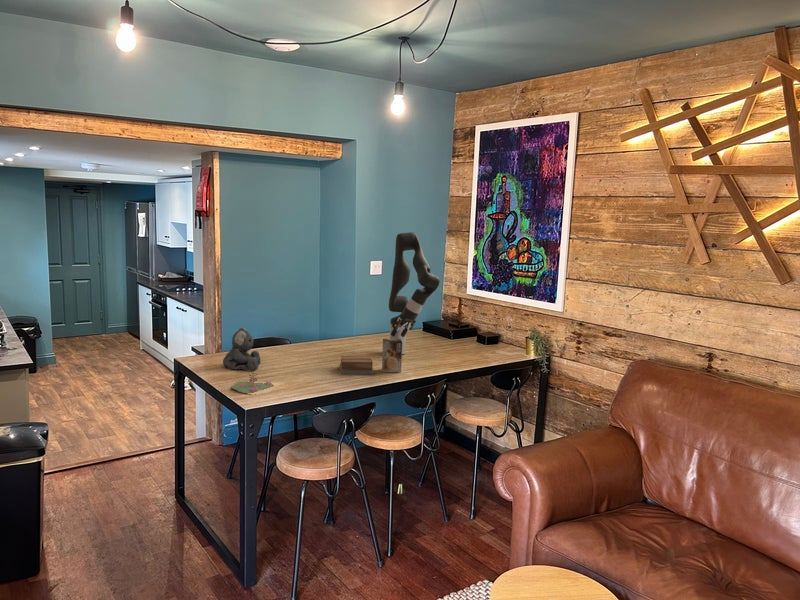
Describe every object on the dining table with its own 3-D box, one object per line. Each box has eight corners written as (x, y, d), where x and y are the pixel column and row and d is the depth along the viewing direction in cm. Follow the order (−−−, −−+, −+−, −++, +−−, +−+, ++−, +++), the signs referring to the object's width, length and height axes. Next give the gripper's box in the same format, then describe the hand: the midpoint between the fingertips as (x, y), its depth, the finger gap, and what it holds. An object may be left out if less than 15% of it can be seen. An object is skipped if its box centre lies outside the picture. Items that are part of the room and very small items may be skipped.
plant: (274, 378, 283) (275, 360, 281) (296, 389, 267) (296, 370, 266) (223, 386, 267) (223, 366, 266) (243, 398, 251) (243, 377, 250)
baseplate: (339, 366, 307) (339, 363, 307) (370, 367, 309) (370, 363, 309) (340, 374, 293) (341, 370, 293) (373, 374, 296) (373, 370, 295)
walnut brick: (340, 363, 306) (341, 356, 305) (370, 363, 308) (370, 356, 308) (341, 369, 294) (342, 361, 294) (372, 370, 296) (372, 362, 296)
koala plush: (258, 371, 291) (258, 332, 288) (219, 371, 288) (220, 331, 285) (261, 362, 308) (261, 325, 305) (225, 362, 305) (225, 324, 302)
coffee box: (398, 368, 309) (400, 338, 307) (401, 372, 303) (402, 341, 300) (381, 368, 307) (382, 338, 305) (383, 372, 301) (384, 341, 299)
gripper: (415, 305, 303) (400, 332, 308) (399, 303, 292) (383, 331, 296) (425, 314, 300) (410, 340, 304) (409, 312, 288) (393, 339, 292)
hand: (397, 335), depth 300 cm, fingers open, 8 cm apart
